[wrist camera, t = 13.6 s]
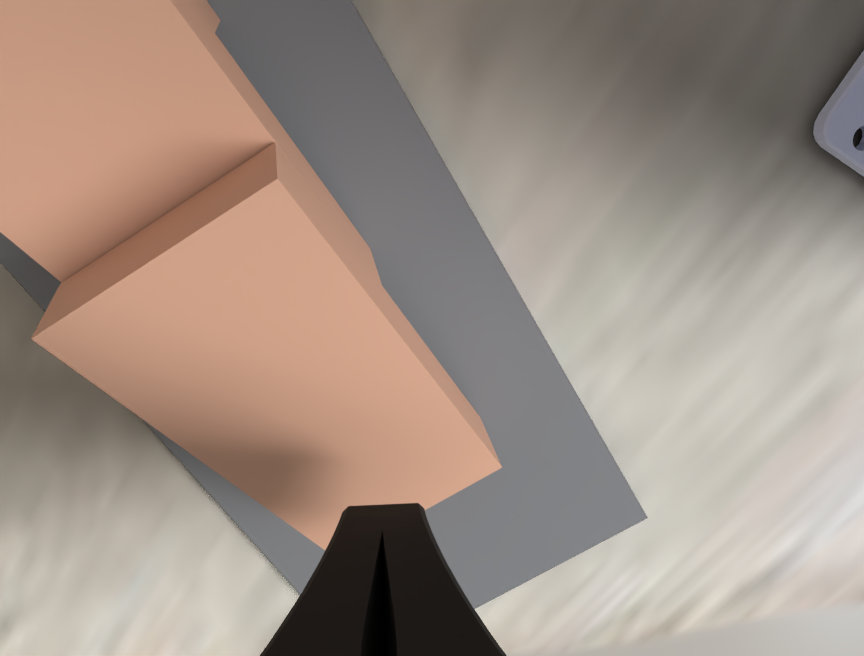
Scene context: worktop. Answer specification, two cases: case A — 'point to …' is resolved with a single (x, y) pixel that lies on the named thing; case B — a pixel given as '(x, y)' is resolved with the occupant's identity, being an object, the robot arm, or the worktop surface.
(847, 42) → the worktop surface
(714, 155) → the worktop surface
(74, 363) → the domino
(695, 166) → the worktop surface
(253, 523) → the mat
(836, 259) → the worktop surface
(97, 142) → the domino
